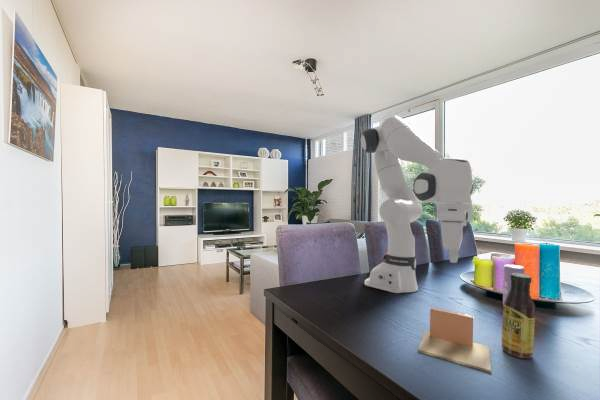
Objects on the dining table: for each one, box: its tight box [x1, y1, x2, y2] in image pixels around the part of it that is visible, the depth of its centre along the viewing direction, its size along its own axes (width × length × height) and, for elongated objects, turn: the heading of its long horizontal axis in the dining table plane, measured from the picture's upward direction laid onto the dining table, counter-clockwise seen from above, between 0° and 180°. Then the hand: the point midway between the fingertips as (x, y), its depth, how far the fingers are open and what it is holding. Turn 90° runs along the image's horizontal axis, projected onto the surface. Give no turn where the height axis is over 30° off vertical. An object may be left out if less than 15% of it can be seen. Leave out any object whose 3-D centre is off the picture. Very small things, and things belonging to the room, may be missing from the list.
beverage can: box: [502, 263, 526, 306], centre depth 98 cm, size 6×6×15 cm
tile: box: [429, 306, 474, 347], centre depth 73 cm, size 10×2×8 cm, turn 57°
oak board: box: [417, 330, 492, 374], centre depth 69 cm, size 15×12×1 cm
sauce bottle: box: [501, 273, 536, 360], centre depth 68 cm, size 6×6×20 cm
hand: (453, 261), depth 78 cm, fingers closed
